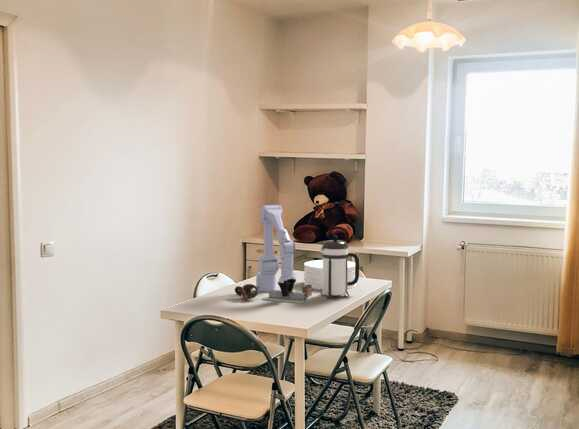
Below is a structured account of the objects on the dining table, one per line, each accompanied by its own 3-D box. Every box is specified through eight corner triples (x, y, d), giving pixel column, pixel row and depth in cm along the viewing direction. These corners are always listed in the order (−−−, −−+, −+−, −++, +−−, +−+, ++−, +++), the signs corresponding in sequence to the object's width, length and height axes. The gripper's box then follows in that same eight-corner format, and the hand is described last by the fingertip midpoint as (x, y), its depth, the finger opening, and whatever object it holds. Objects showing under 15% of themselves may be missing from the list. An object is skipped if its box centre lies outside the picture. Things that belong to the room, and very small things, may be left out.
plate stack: (358, 290, 321) (359, 268, 320) (304, 290, 322) (304, 268, 321) (354, 280, 349) (354, 259, 348) (304, 279, 350) (304, 259, 349)
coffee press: (343, 301, 296) (344, 238, 294) (314, 297, 305) (314, 235, 302) (359, 294, 311) (360, 234, 308) (330, 290, 320) (331, 232, 317)
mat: (262, 299, 299) (262, 298, 299) (269, 296, 307) (269, 295, 306) (301, 303, 292) (301, 302, 291) (307, 299, 299) (307, 298, 299)
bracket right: (301, 296, 306) (301, 286, 305) (306, 294, 311) (306, 284, 310) (307, 297, 304) (307, 287, 304) (311, 294, 310) (311, 284, 309)
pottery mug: (259, 298, 305) (261, 285, 301) (253, 310, 298) (255, 297, 293) (236, 290, 307) (238, 278, 302) (229, 303, 299) (231, 290, 295)
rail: (271, 296, 303) (268, 297, 300) (271, 289, 303) (268, 291, 300) (306, 299, 297) (303, 301, 294) (306, 292, 296) (303, 294, 293)
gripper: (289, 270, 289) (288, 299, 290) (300, 265, 302) (300, 293, 304) (275, 269, 292) (275, 297, 293) (287, 264, 305) (287, 291, 306)
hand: (287, 295), depth 298 cm, fingers open, 5 cm apart
